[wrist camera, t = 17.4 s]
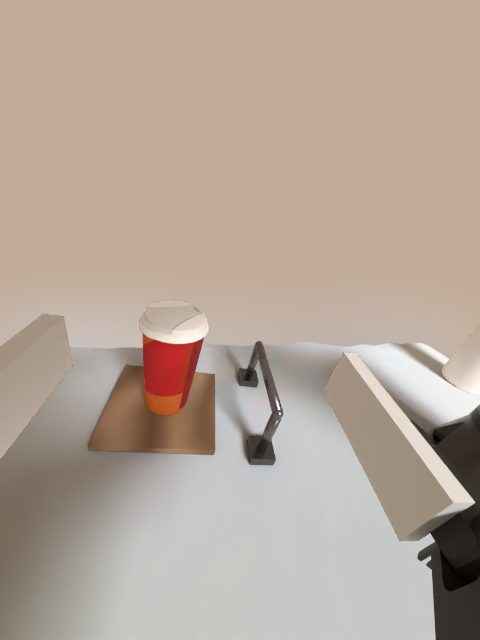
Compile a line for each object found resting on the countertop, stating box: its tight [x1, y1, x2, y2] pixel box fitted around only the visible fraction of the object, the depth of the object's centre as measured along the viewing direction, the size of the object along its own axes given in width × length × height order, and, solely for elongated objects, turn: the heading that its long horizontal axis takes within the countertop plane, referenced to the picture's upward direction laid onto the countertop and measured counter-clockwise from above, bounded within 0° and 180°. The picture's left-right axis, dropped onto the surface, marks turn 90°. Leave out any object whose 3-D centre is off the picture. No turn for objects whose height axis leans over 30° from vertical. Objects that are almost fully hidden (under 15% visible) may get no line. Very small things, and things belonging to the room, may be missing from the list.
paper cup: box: [139, 300, 209, 416], centre depth 30 cm, size 8×8×14 cm
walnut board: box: [88, 365, 215, 455], centre depth 33 cm, size 14×13×1 cm
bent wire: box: [238, 341, 283, 465], centre depth 34 cm, size 3×16×8 cm, turn 5°
